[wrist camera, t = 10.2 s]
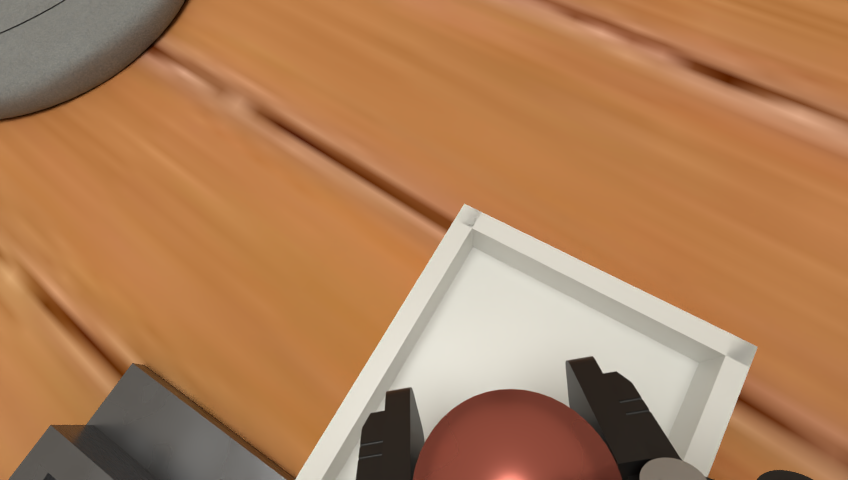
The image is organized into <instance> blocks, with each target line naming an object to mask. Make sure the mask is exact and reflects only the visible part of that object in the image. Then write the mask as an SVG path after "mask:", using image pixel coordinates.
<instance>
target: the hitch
mask: <svg viewBox="0 0 848 480" xmlns="http://www.w3.org/2000/svg"><path fill="white" fill-rule="evenodd" d="M9 480H295V478H294V477H292V476H291V475H290V474H288V473H287V472H286V471H284V470H283V469H282V468H280V467H279V466H278V465H276V464H275V463H274V462H272V461H271V460H270V459H268V458H267V457H266V456H264V455H263V454H262V453H260V452H259V451H258V450H256V449H255V448H254V447H252V446H251V445H250V444H248V443H247V442H246V441H244V440H243V439H242V438H241V437H239V436H238V435H237V434H235V433H234V432H233V431H231V430H230V429H229V428H227V427H226V426H225V425H223V424H222V423H221V422H219V421H218V420H217V419H215V418H214V417H213V416H211V415H210V414H209V413H207V412H206V411H205V410H203V409H202V408H201V407H199V406H198V405H197V404H195V403H194V402H193V401H191V400H190V399H189V398H187V397H186V396H185V395H183V394H182V393H181V392H179V391H178V390H177V389H175V388H174V387H173V386H171V385H170V384H169V383H167V382H166V381H165V380H163V379H162V378H161V377H159V376H158V375H157V374H155V373H154V372H153V371H151V370H150V369H149V368H147V367H146V366H145V365H140V364H134V363H132V365H131V366H130V367H129V369H128V370H127V371H126V373H125V374H124V375H123V377H122V378H121V379H120V381H119V382H118V383H117V385H116V386H115V387H114V389H113V390H112V391H111V393H110V394H109V395H108V397H107V398H106V399H105V401H104V402H103V403H102V405H101V406H100V407H99V408H98V410H97V411H96V412H95V414H94V415H93V416H92V418H91V419H90V420H89V422H88V423H87V424H86V425H50V427H49V428H48V429H47V430H46V432H45V433H44V434H43V436H42V437H41V438H40V439H39V441H38V442H37V443H36V445H35V446H34V447H33V449H32V450H31V451H30V452H29V454H28V455H27V456H26V458H25V459H24V460H23V462H22V463H21V464H20V465H19V467H18V468H17V469H16V471H15V472H14V473H13V474H12V476H11V477H10V478H9Z"/></svg>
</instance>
